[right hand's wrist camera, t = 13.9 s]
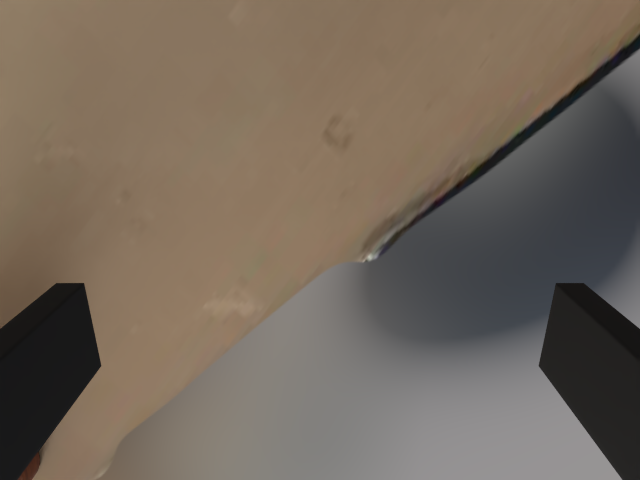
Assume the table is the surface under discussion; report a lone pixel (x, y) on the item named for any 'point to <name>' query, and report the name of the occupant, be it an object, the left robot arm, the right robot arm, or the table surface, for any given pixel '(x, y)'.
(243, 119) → the table surface
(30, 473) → the music box
